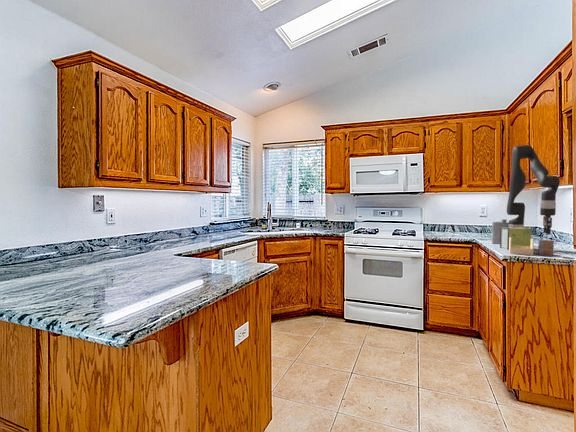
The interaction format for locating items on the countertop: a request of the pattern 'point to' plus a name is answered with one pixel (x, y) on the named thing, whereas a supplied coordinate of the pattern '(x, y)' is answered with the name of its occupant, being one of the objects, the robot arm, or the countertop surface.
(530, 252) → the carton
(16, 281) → the countertop surface
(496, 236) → the hip flask
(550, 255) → the mat
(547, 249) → the walnut block
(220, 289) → the countertop surface
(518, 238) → the protein box
